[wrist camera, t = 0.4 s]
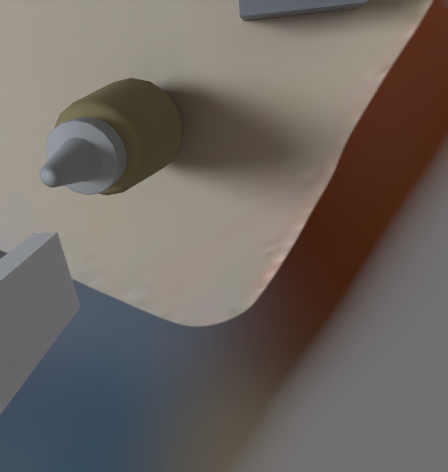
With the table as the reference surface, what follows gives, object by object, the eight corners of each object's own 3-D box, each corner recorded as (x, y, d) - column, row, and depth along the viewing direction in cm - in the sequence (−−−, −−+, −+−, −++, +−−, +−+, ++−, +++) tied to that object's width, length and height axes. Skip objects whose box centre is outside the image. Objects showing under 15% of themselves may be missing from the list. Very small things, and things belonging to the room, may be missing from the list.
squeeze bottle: (188, 75, 34) (113, 94, 17) (193, 164, 37) (134, 248, 21) (102, 76, 34) (-47, 95, 18) (114, 162, 38) (-1, 243, 22)
